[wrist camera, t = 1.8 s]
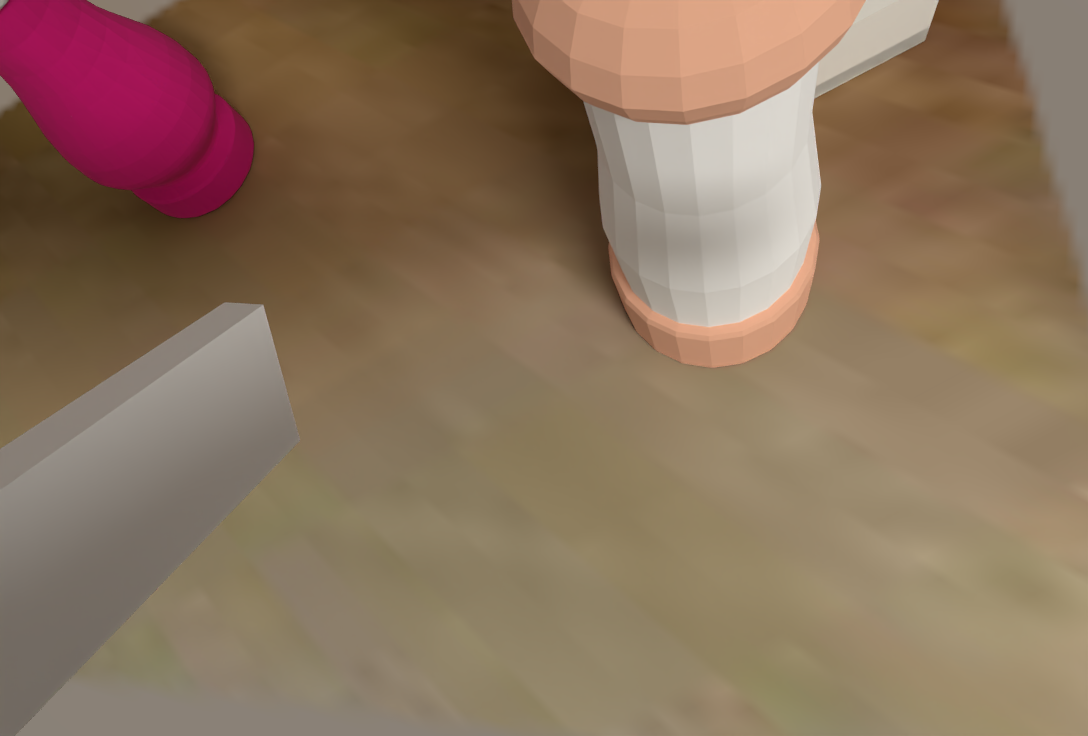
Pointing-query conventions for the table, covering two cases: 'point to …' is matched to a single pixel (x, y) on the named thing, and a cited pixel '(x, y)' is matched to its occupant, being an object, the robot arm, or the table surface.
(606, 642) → the table surface
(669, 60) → the pepper shaker
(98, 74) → the pepper mill
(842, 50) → the tray
